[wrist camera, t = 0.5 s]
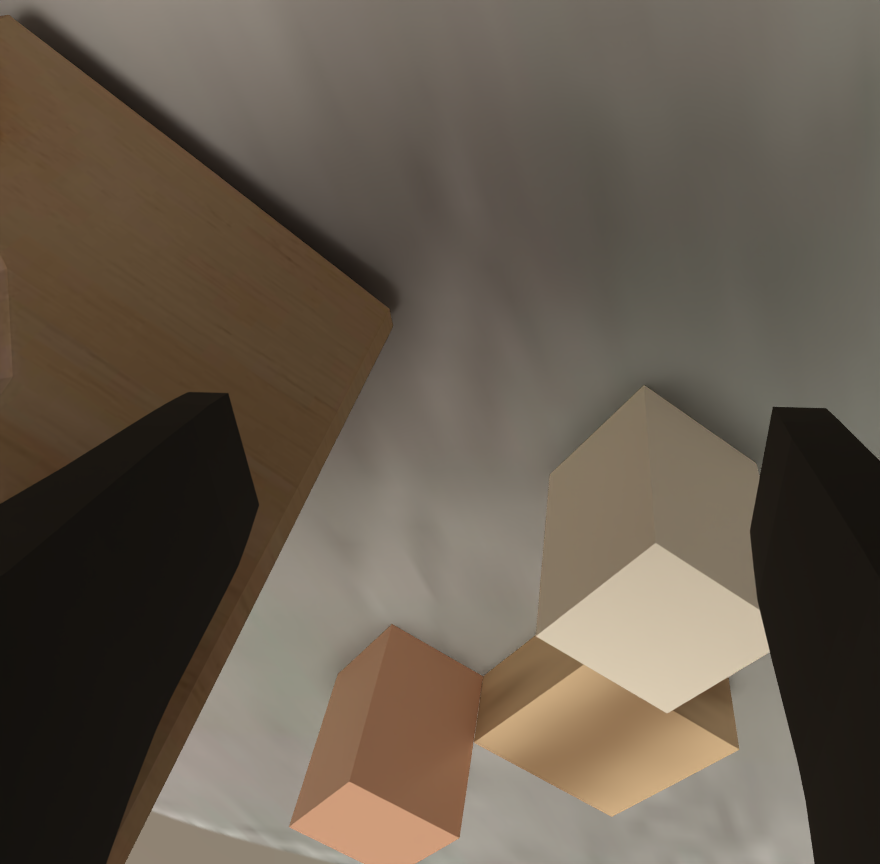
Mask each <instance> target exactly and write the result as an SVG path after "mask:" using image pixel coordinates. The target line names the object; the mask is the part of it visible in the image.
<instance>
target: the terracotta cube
mask: <svg viewBox="0 0 880 864" xmlns="http://www.w3.org/2000/svg"><path fill="white" fill-rule="evenodd" d="M482 680H483V676H481V675H480V674H478V673H476V672H474V671H473V670H471V669H469V668H467V667H466V666H464V665H462V664H460V663H459V662H457V661H455V660H453V659H452V658H450V657H448V656H447V655H445V654H443V653H441V652H440V651H438V650H436V649H434V648H433V647H431V646H429V645H427V644H426V643H424V642H422V641H420V640H419V639H417V638H415V637H413V636H412V635H410V634H408V633H406V632H405V631H403V630H401V629H399V628H398V627H396V626H394V625H393V624H392V625H391V626H389V627H388V628H387V629H386V630H385V631H384V632H383V633H382V634H381V635H380V636H379V637H378V638H377V639H375V640H374V641H373V642H372V643H371V644H370V645H369V646H368V647H367V648H366V649H365V650H364V651H362V652H361V653H360V654H359V655H358V656H357V657H356V658H355V659H354V660H353V661H352V662H351V663H350V664H348V665H347V666H346V667H345V668H344V669H343V670H342V671H341V672H340V673H339V674H338V675H337V678H336V682H335V685H334V688H333V691H332V694H331V697H330V700H329V703H328V707H327V710H326V713H325V716H324V719H323V722H322V725H321V728H320V732H319V735H318V738H317V741H316V744H315V747H314V750H313V753H312V757H311V760H310V763H309V766H308V769H307V772H306V775H305V778H304V782H303V785H302V788H301V791H300V794H299V797H298V800H297V803H296V807H295V810H294V813H293V816H292V819H291V822H290V825H289V827H290V828H292V829H294V830H296V831H298V832H300V833H302V834H304V835H306V836H309V837H311V838H313V839H315V840H317V841H319V842H321V843H323V844H325V845H327V846H329V847H331V848H333V849H335V850H337V851H339V852H341V853H343V854H345V855H347V856H349V857H351V858H354V859H356V860H358V861H360V862H362V863H364V864H415V863H417V862H419V861H421V860H422V859H424V858H426V857H428V856H429V855H431V854H433V853H434V852H436V851H438V850H440V849H441V848H443V847H445V846H447V845H448V844H450V843H452V842H453V841H455V840H457V839H459V837H460V830H461V823H462V816H463V810H464V803H465V796H466V789H467V782H468V775H469V769H470V762H471V755H472V748H473V741H474V734H475V728H476V721H477V714H478V707H479V700H480V693H481V687H482Z"/></svg>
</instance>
